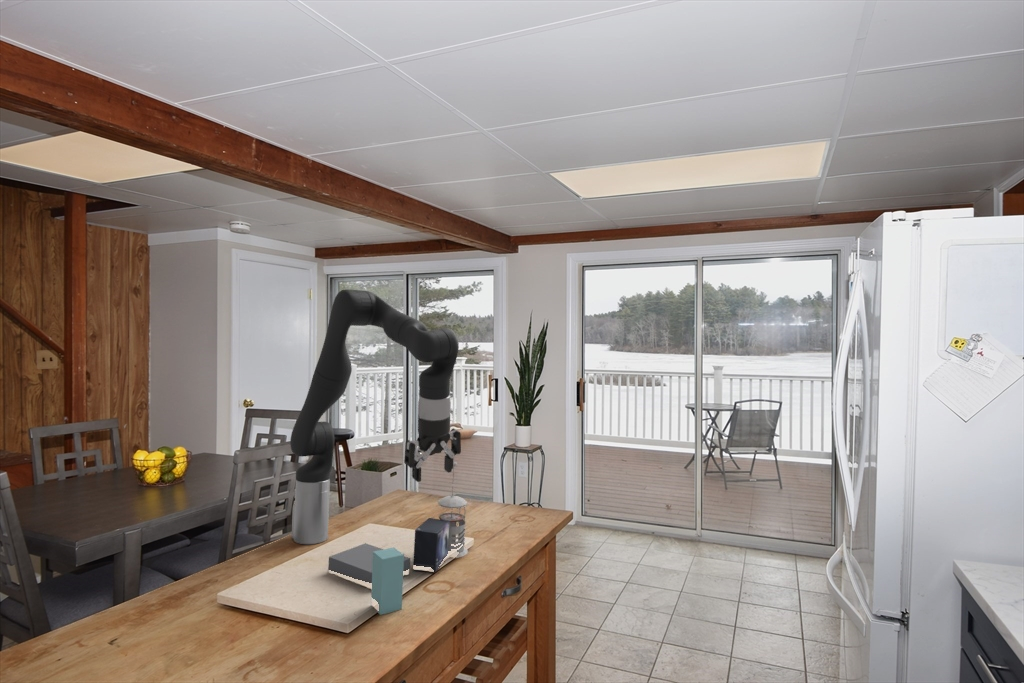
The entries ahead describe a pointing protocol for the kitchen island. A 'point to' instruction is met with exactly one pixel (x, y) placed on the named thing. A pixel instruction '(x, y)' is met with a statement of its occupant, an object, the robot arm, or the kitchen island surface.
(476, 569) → the kitchen island surface
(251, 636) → the kitchen island surface
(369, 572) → the grey flat block
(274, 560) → the kitchen island surface
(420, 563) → the small box
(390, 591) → the teal block
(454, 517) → the french press
